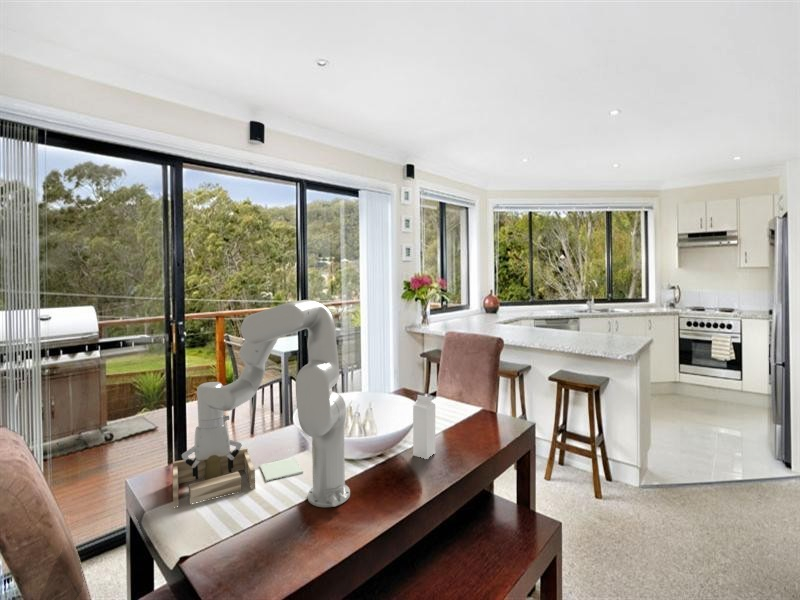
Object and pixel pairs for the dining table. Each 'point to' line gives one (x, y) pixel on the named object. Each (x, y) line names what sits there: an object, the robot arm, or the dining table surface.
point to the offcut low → (216, 494)
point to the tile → (280, 469)
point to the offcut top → (214, 484)
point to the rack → (185, 471)
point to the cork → (213, 467)
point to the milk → (423, 427)
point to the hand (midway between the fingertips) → (213, 474)
